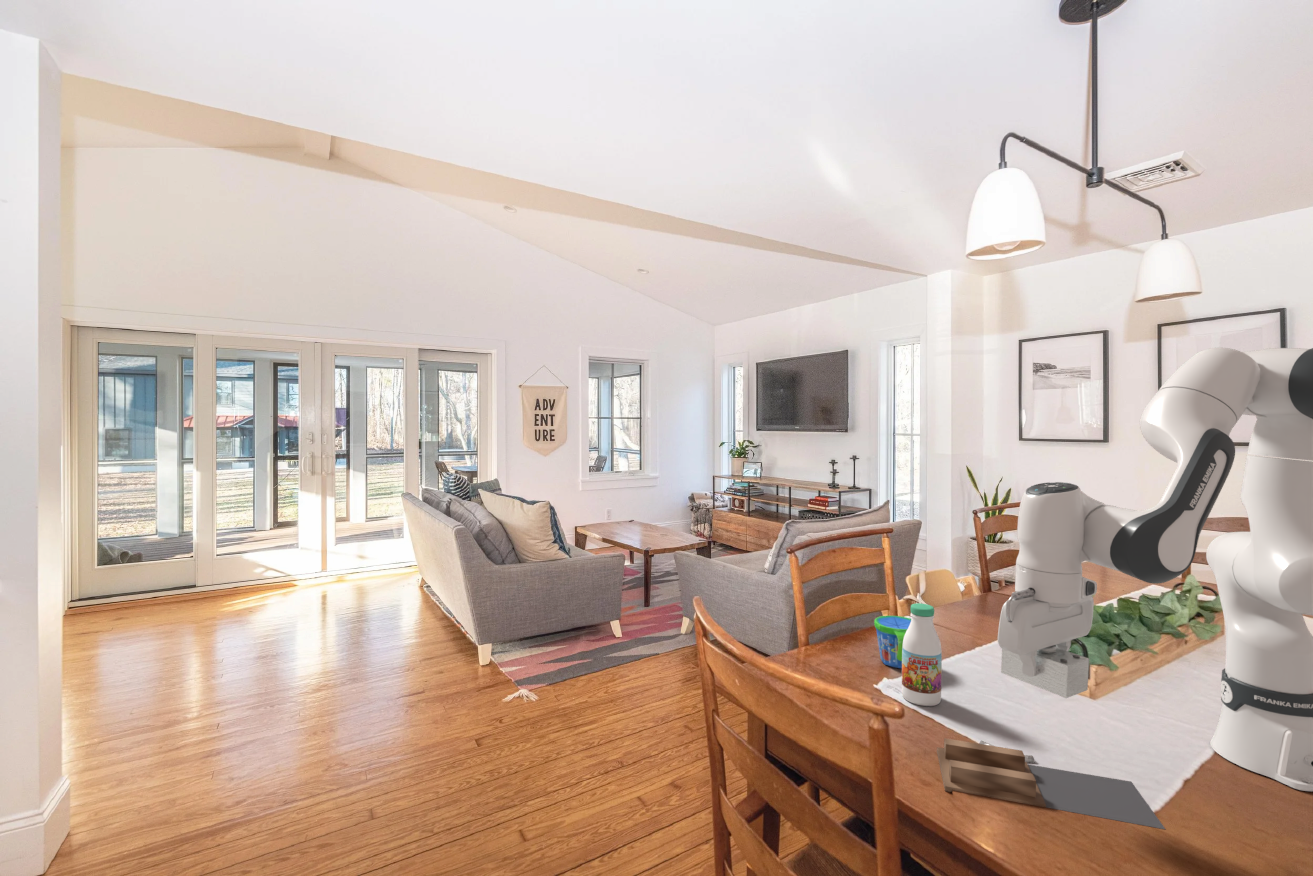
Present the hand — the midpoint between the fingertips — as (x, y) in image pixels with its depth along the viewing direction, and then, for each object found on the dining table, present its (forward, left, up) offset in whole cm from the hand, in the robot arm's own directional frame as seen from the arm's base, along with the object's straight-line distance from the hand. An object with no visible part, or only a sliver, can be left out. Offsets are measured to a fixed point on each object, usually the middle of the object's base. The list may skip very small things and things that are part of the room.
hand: (1043, 670), depth 96 cm
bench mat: (-6, -1, -20) cm, 21 cm away
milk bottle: (+16, -28, -20) cm, 37 cm away
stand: (+8, -1, -20) cm, 21 cm away
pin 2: (+1, -8, -20) cm, 21 cm away
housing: (0, 0, -2) cm, 2 cm away
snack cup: (+20, -46, -20) cm, 54 cm away
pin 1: (+5, -10, -19) cm, 22 cm away
